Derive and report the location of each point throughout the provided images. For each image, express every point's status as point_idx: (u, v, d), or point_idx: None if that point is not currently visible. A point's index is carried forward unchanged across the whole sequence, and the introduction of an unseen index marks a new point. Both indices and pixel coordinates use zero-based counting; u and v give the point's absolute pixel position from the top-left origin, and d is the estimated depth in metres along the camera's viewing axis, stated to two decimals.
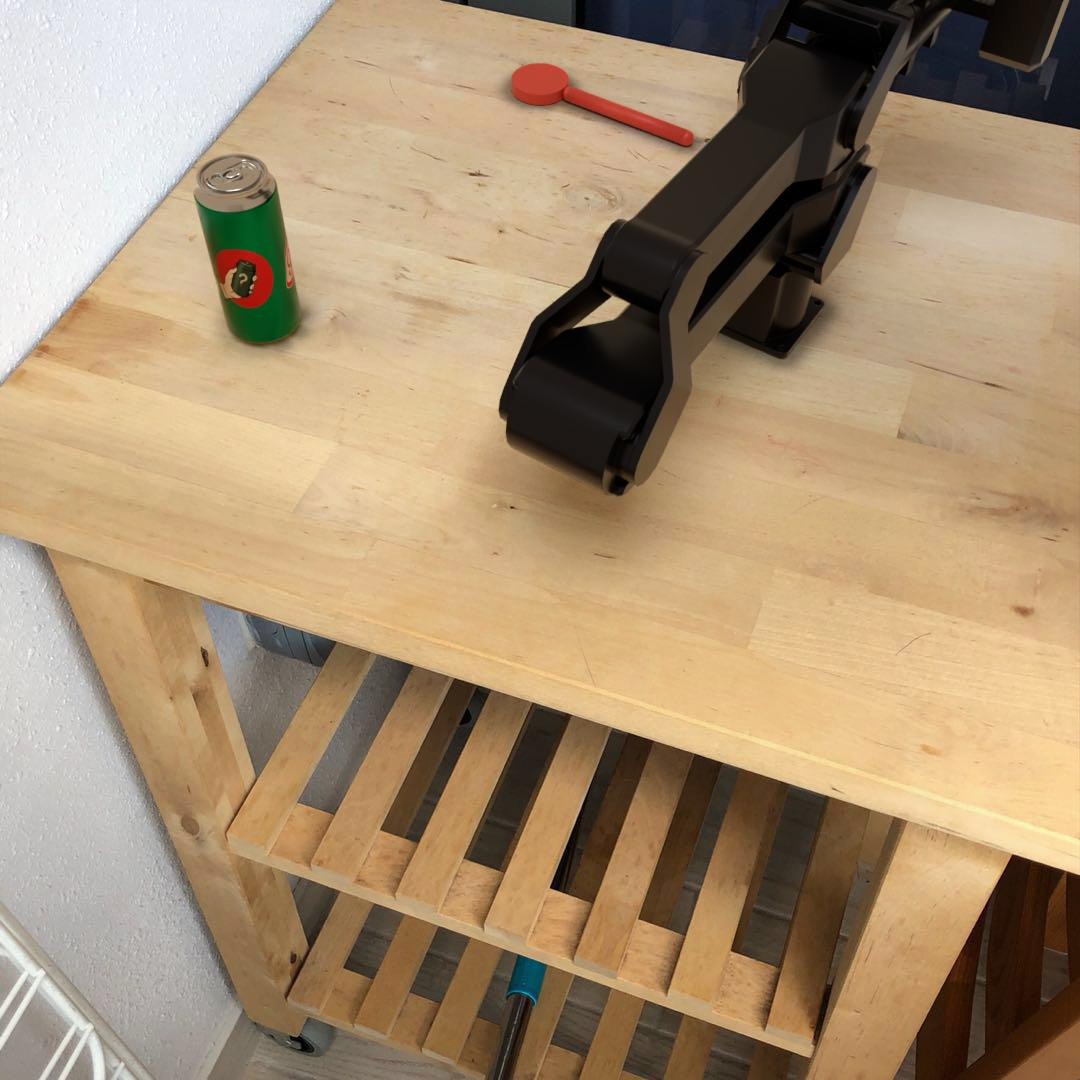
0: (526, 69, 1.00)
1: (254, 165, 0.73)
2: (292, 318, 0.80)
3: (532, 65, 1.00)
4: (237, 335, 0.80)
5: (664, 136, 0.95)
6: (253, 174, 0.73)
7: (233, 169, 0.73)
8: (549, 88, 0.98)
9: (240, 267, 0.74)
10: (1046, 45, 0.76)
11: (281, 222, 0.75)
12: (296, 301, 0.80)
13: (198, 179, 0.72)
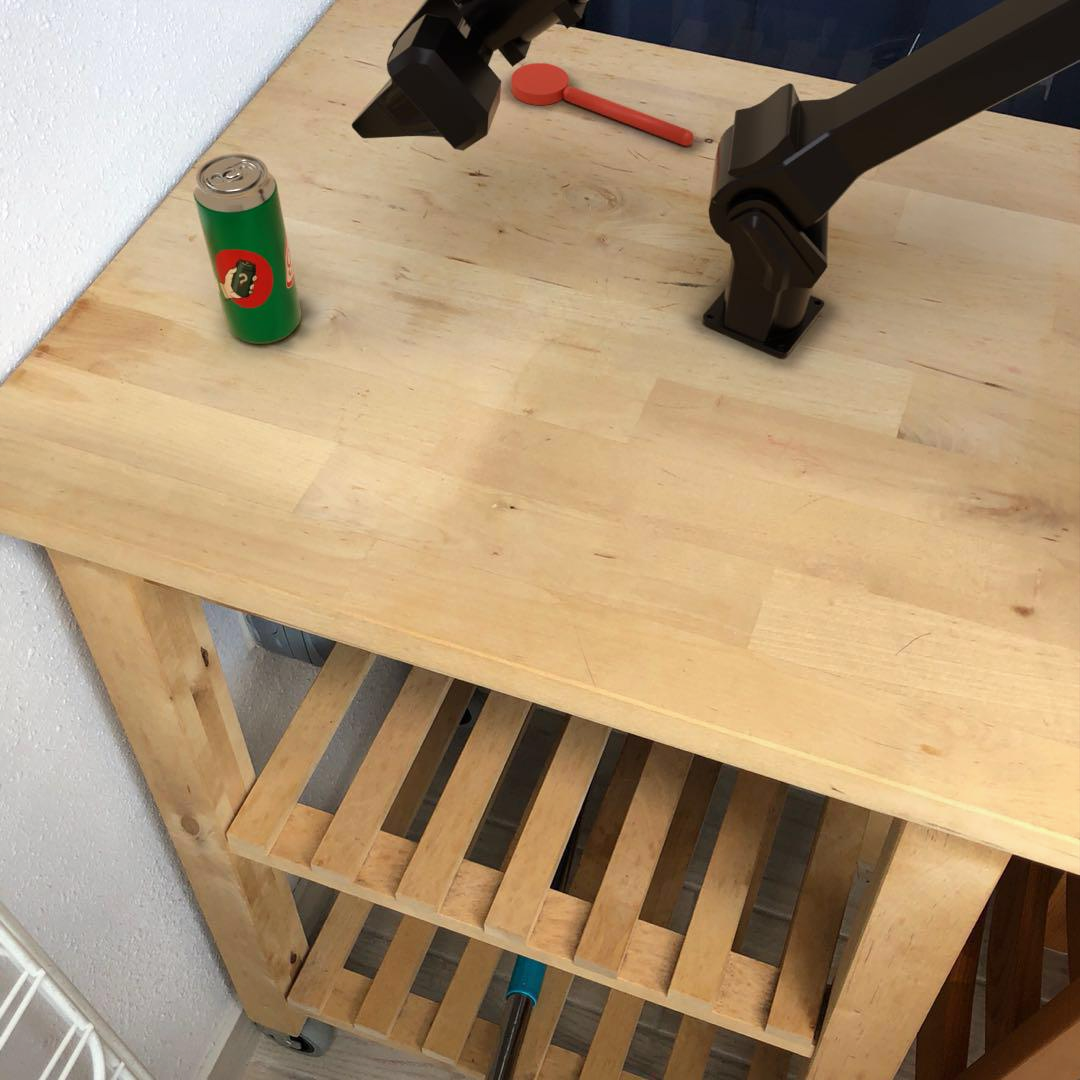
0: (526, 69, 1.00)
1: (254, 165, 0.73)
2: (292, 318, 0.80)
3: (532, 65, 1.00)
4: (237, 335, 0.80)
5: (664, 136, 0.95)
6: (253, 174, 0.73)
7: (233, 169, 0.73)
8: (549, 88, 0.98)
9: (240, 267, 0.74)
10: None
11: (281, 222, 0.75)
12: (296, 301, 0.80)
13: (198, 179, 0.72)
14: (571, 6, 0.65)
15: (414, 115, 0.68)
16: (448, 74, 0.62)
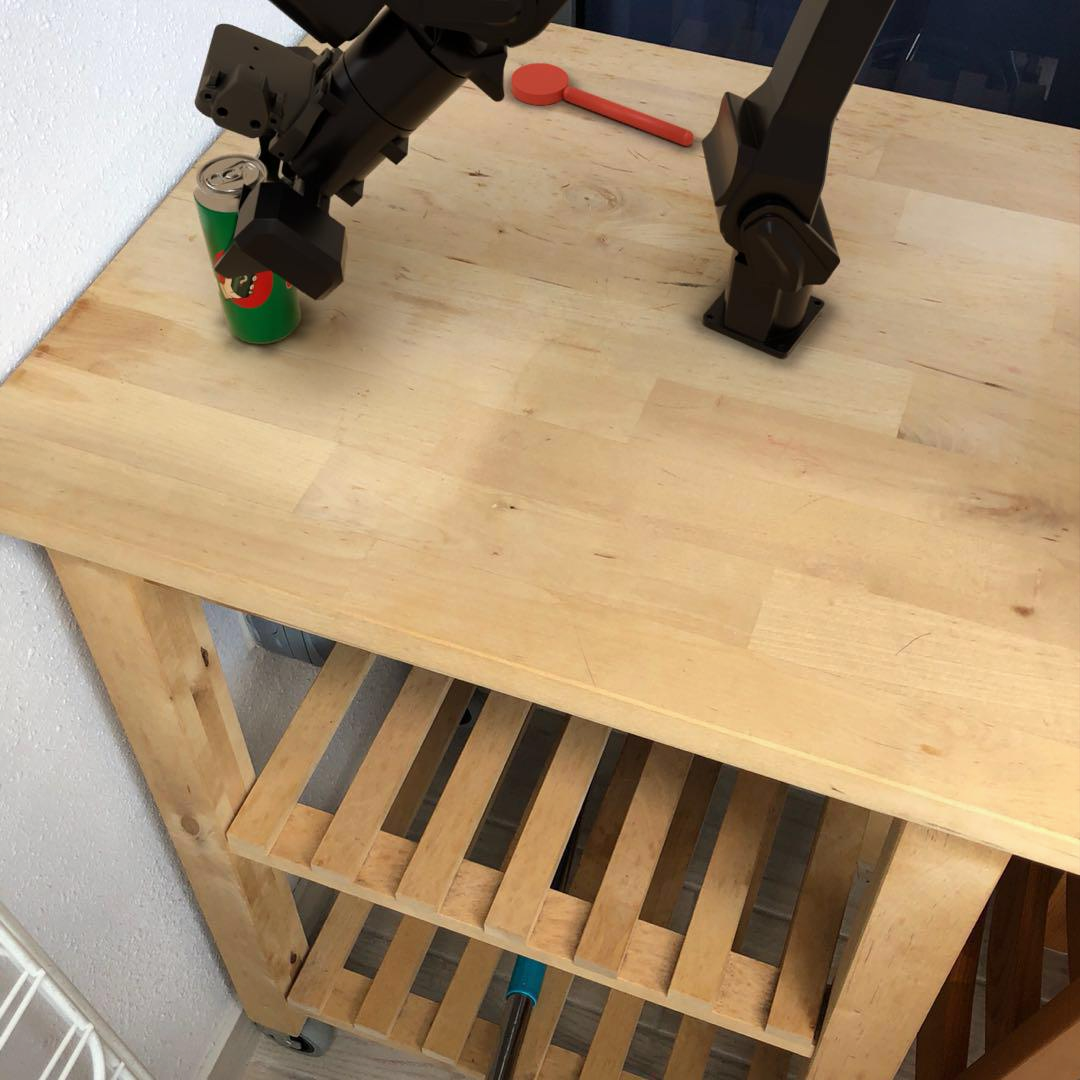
0: (526, 69, 1.00)
1: (254, 165, 0.73)
2: (292, 318, 0.80)
3: (532, 65, 1.00)
4: (237, 335, 0.80)
5: (664, 136, 0.95)
6: (253, 174, 0.73)
7: (233, 169, 0.73)
8: (549, 88, 0.98)
9: None
10: None
11: None
12: (296, 301, 0.80)
13: (198, 179, 0.72)
14: (396, 145, 0.68)
15: None
16: (295, 237, 0.65)
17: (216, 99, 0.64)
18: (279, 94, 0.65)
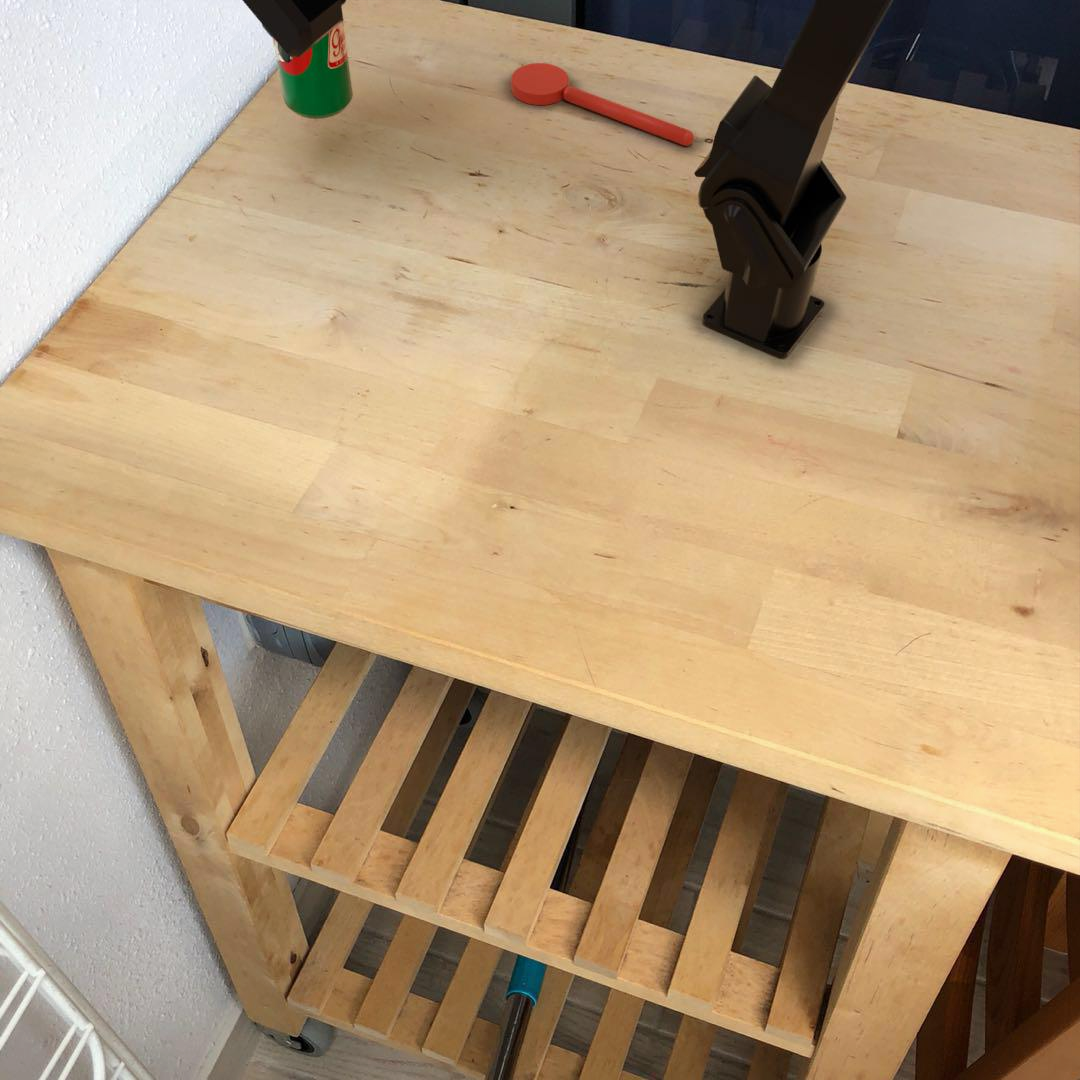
0: (526, 69, 1.00)
1: None
2: (332, 100, 0.85)
3: (532, 65, 1.00)
4: (285, 102, 0.87)
5: (664, 136, 0.95)
6: None
7: None
8: (549, 88, 0.98)
9: None
10: None
11: None
12: (341, 86, 0.85)
13: None
14: None
15: None
16: None
17: None
18: None
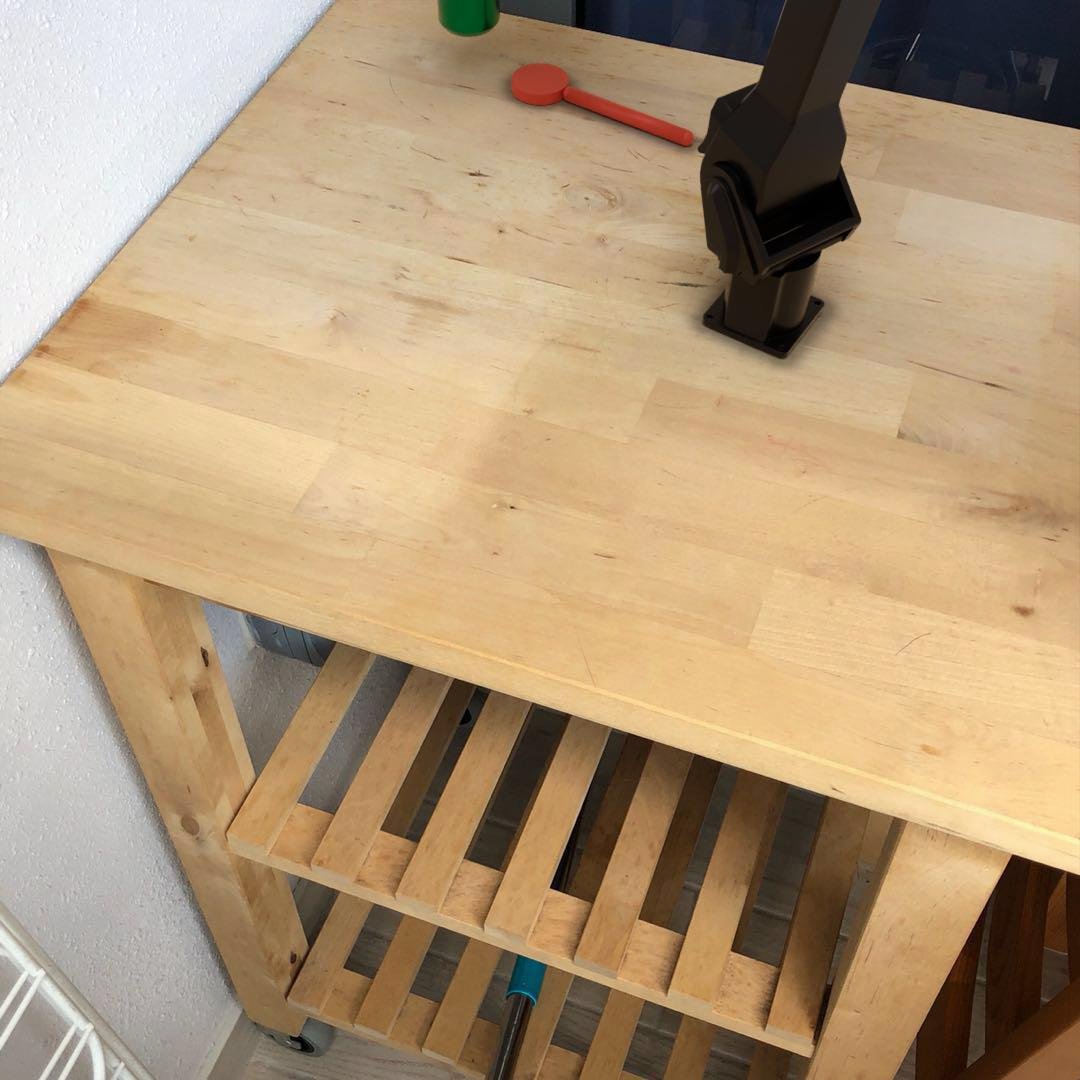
0: (526, 69, 1.00)
1: None
2: (470, 22, 0.95)
3: (532, 65, 1.00)
4: None
5: (664, 136, 0.95)
6: None
7: None
8: (549, 88, 0.98)
9: None
10: None
11: None
12: (481, 11, 0.95)
13: None
14: None
15: None
16: None
17: None
18: None
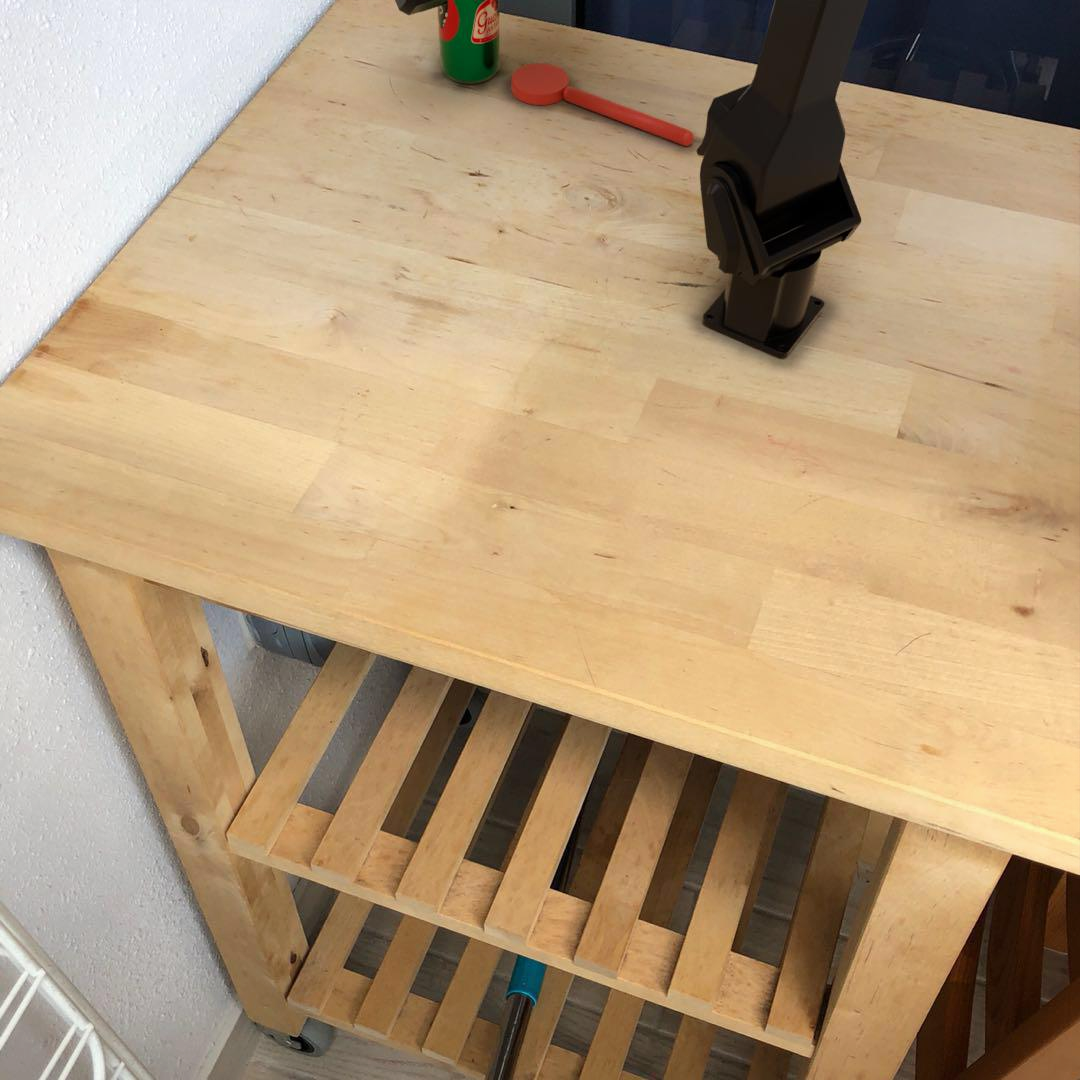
0: (526, 69, 1.00)
1: None
2: (471, 70, 0.99)
3: (532, 65, 1.00)
4: None
5: (664, 136, 0.95)
6: None
7: None
8: (549, 88, 0.98)
9: None
10: None
11: None
12: (482, 60, 0.98)
13: None
14: None
15: None
16: None
17: None
18: None
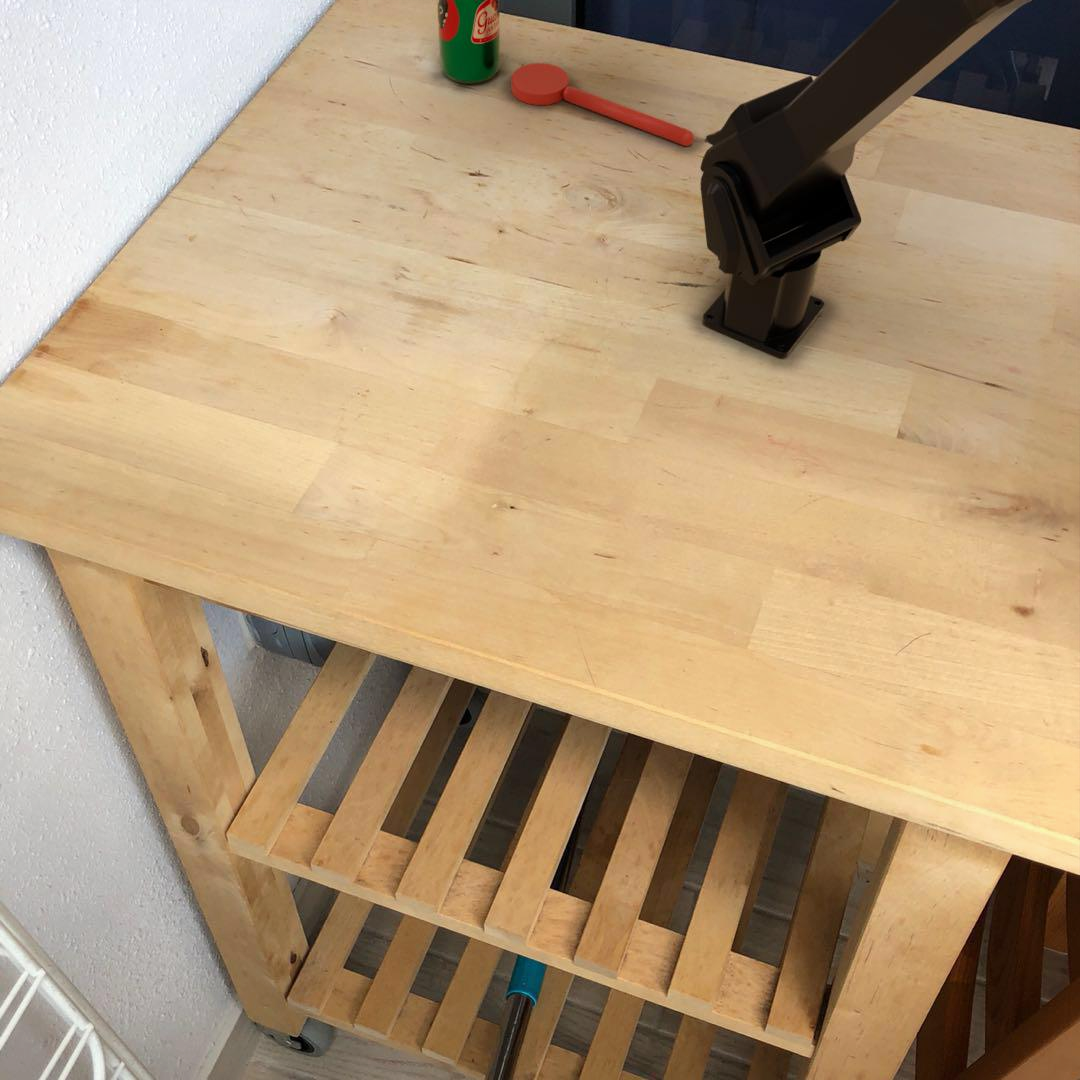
0: (526, 69, 1.00)
1: None
2: (471, 70, 0.99)
3: (532, 65, 1.00)
4: None
5: (664, 136, 0.95)
6: None
7: None
8: (549, 88, 0.98)
9: (440, 0, 0.95)
10: None
11: None
12: (482, 60, 0.98)
13: None
14: None
15: None
16: None
17: None
18: None
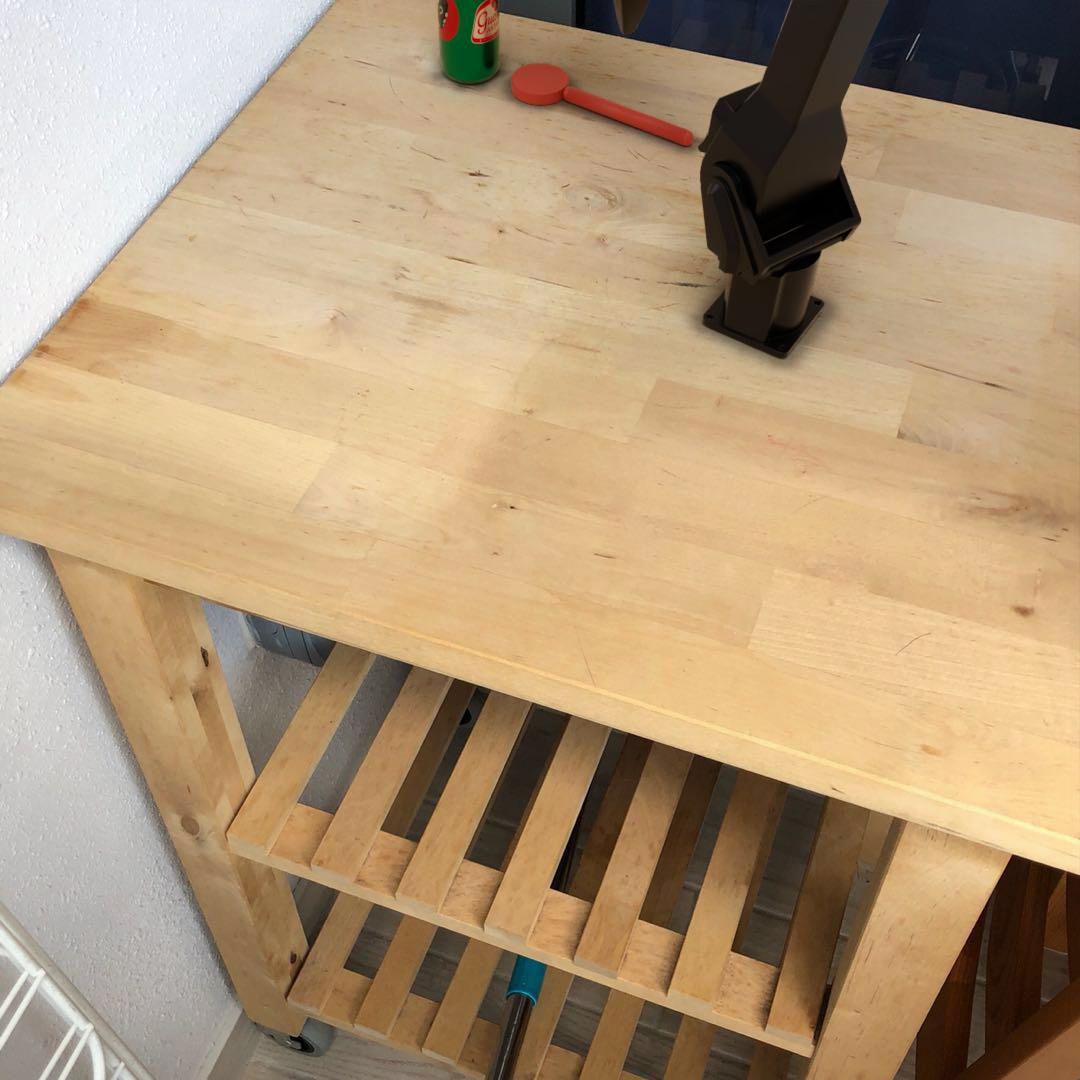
0: (526, 69, 1.00)
1: None
2: (471, 70, 0.99)
3: (532, 65, 1.00)
4: None
5: (664, 136, 0.95)
6: None
7: None
8: (549, 88, 0.98)
9: (440, 0, 0.95)
10: None
11: None
12: (482, 60, 0.98)
13: None
14: None
15: None
16: None
17: None
18: None
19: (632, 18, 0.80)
